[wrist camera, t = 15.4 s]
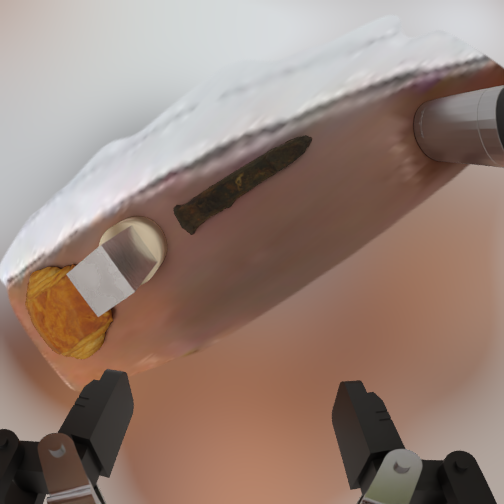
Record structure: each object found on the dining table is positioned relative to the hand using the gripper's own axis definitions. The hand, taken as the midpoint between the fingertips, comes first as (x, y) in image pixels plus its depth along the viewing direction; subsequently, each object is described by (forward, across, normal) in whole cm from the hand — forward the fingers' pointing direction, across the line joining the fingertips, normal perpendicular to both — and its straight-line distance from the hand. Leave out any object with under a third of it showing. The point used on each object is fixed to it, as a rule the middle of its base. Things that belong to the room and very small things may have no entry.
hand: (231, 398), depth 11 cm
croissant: (+31, +26, +14) cm, 43 cm away
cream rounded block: (+31, +14, +4) cm, 34 cm away
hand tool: (+32, 0, -6) cm, 32 cm away
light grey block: (+26, +14, +4) cm, 30 cm away
